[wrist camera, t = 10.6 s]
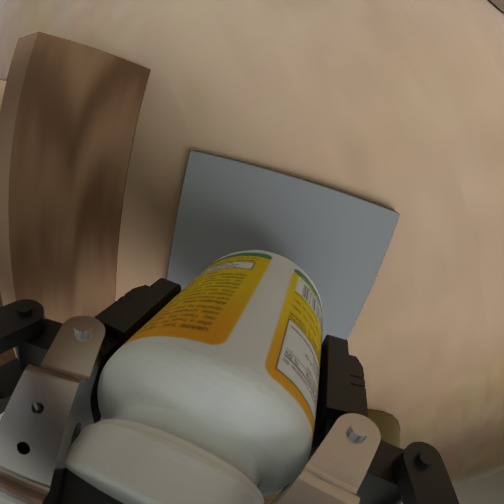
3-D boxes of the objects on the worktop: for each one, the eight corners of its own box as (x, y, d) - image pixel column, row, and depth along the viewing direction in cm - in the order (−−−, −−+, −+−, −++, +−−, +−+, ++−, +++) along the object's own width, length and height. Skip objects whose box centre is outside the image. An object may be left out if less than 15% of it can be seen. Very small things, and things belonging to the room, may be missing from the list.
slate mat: (197, 150, 14) (190, 150, 13) (395, 211, 13) (399, 214, 12) (166, 318, 17) (160, 325, 17) (324, 373, 16) (323, 382, 15)
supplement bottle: (348, 287, 11) (365, 551, 2) (283, 377, 13) (226, 573, 4) (224, 221, 11) (3, 376, 2) (180, 323, 13) (46, 481, 4)
